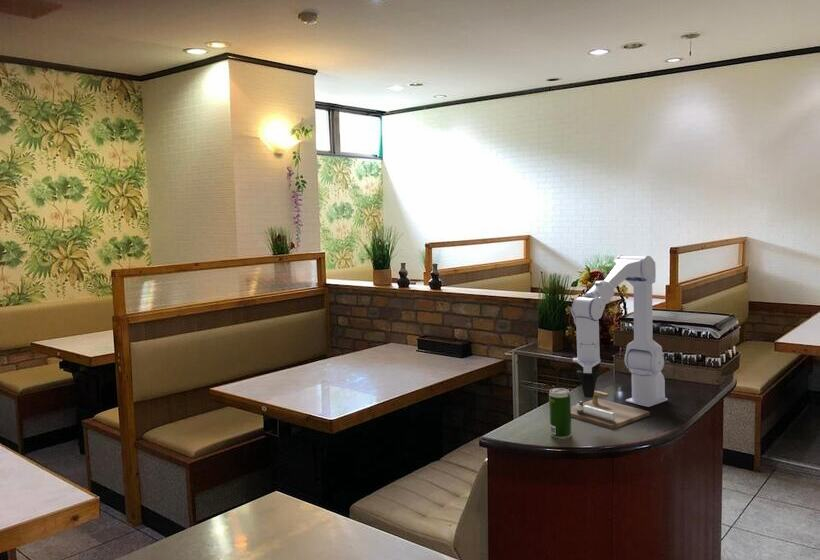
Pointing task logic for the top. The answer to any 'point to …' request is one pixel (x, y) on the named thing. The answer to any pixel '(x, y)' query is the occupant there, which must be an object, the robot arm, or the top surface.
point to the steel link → (595, 411)
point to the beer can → (560, 413)
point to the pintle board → (621, 411)
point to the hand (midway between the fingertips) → (589, 392)
